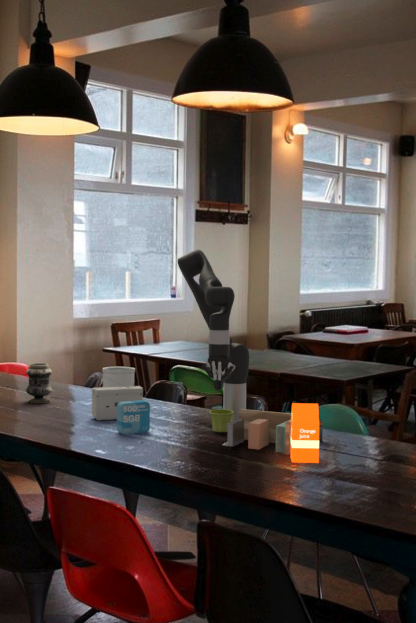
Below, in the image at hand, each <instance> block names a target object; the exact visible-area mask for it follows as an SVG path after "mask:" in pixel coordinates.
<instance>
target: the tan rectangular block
mask: <svg viewBox="0 0 416 623" xmlns="http://www.w3.org/2000/svg"><path fill="white" fill-rule="evenodd" d="M247 441H248V442H247V443H248V445H247V448H248V449H249V450H251V449H252V450H259V451H260V450H261V449H262V448H264V447H266V446H269V445H270V444H269V443H270V442H269V420H266V419H257V420H254V421H252V422H250V423H249V424H248V440H247Z"/></svg>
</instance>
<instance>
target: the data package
mask: <svg viewBox="0 0 416 623" xmlns="http://www.w3.org/2000/svg"><path fill="white" fill-rule="evenodd" d="M150 411H151V405H150V403H149V402H148V401H146V400H138V401H125V402H119V403H118V404H117V419H116V429H117V432H118V433H119V434H122V435H131V434H132V435H133V434H143V433H148V432H149V431H150V428H151V423H150V422H151V418H150V417H151V416H150V415H151V412H150Z"/></svg>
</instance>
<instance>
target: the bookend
mask: <svg viewBox="0 0 416 623" xmlns="http://www.w3.org/2000/svg"><path fill="white" fill-rule="evenodd" d="M244 442H245V440H244V420H243V419H238V420H236V421H233V422H231V423H228V432H227V441H226V442H224V443H222V447H223V446H224V447H231V448H232V447H235V446H238V445H239V444H242V443H244Z"/></svg>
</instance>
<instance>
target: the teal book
mask: <svg viewBox="0 0 416 623" xmlns="http://www.w3.org/2000/svg"><path fill="white" fill-rule="evenodd" d="M286 422H287V421H286ZM286 422H284V423H281V424H279V425H277V426H276V443H275V452H276V453H281V454H282V453H285V428H286Z"/></svg>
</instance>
